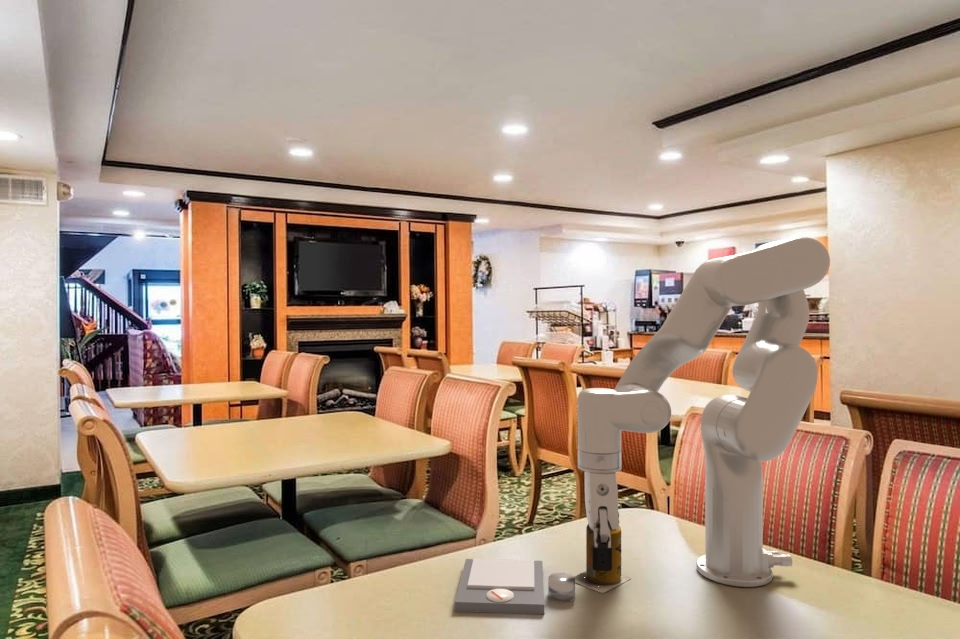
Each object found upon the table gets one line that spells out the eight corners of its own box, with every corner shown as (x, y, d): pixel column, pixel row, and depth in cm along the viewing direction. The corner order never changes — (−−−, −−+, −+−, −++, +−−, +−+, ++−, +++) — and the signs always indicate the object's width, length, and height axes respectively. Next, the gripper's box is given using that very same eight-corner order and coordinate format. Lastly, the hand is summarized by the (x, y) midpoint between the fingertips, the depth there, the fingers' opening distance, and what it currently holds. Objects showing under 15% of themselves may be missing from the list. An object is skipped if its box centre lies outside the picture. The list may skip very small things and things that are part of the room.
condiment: (631, 578, 111) (631, 510, 110) (603, 594, 105) (603, 522, 105) (597, 566, 116) (597, 501, 116) (568, 580, 110) (568, 512, 110)
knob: (574, 590, 106) (574, 573, 106) (576, 603, 102) (576, 584, 102) (548, 590, 107) (547, 572, 107) (548, 602, 102) (548, 583, 102)
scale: (542, 568, 115) (542, 558, 115) (544, 614, 98) (544, 601, 98) (465, 566, 116) (465, 556, 116) (454, 611, 99) (454, 598, 99)
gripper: (628, 473, 101) (629, 583, 102) (614, 448, 119) (614, 543, 119) (581, 472, 102) (582, 582, 102) (574, 448, 119) (574, 542, 120)
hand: (599, 560), depth 111 cm, fingers open, 6 cm apart
